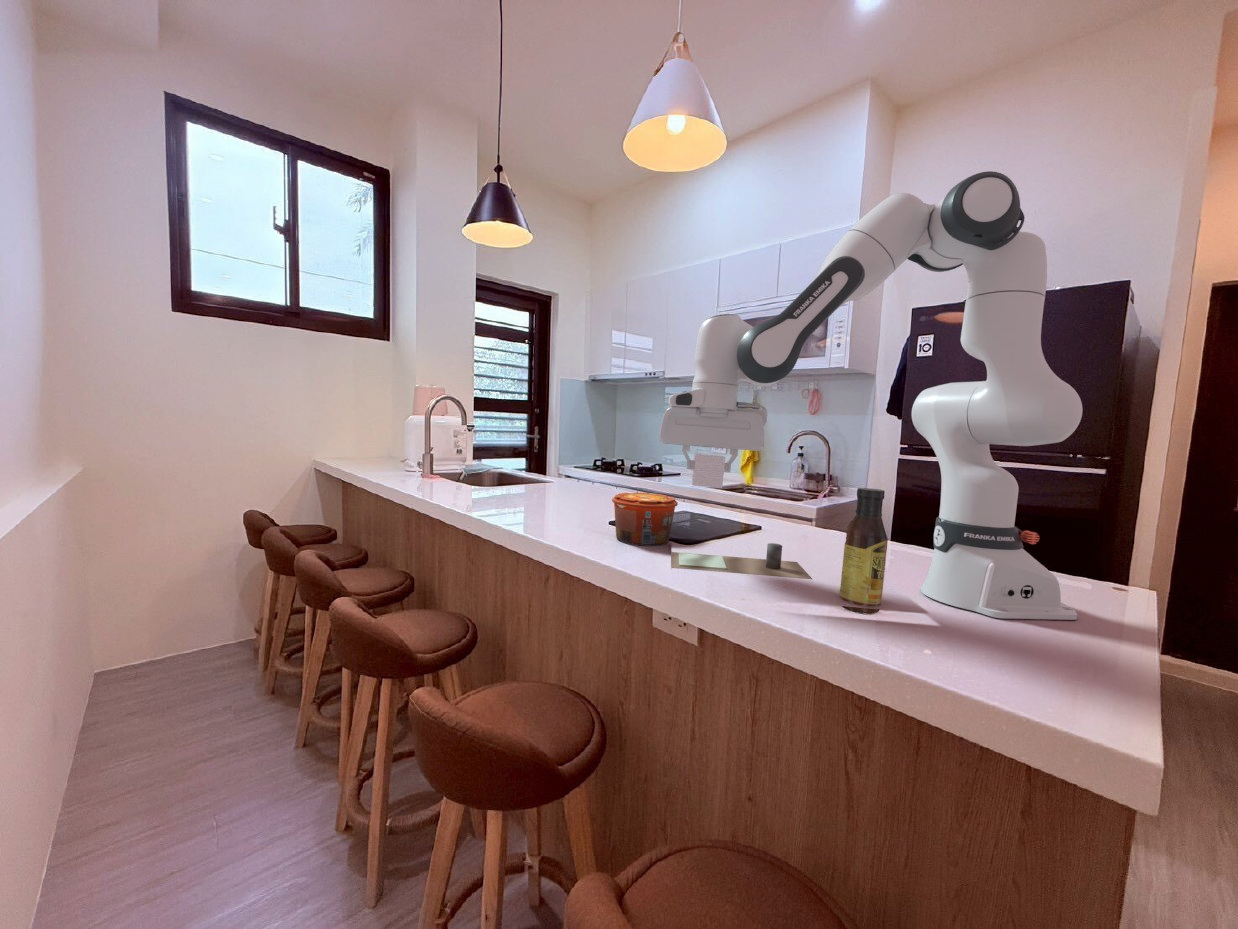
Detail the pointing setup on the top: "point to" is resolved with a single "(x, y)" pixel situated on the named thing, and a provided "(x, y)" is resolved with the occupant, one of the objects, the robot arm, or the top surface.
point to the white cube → (708, 470)
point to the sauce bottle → (865, 553)
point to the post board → (741, 564)
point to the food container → (643, 518)
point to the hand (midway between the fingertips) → (707, 470)
